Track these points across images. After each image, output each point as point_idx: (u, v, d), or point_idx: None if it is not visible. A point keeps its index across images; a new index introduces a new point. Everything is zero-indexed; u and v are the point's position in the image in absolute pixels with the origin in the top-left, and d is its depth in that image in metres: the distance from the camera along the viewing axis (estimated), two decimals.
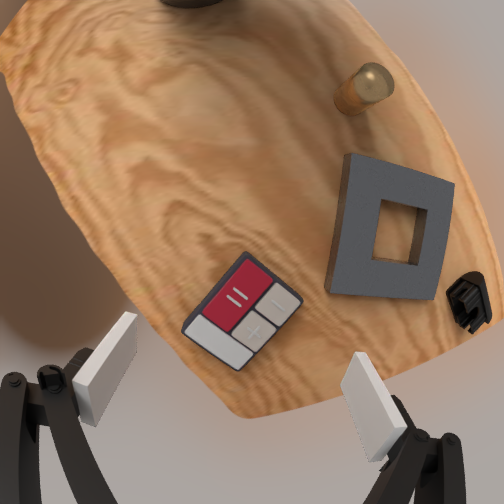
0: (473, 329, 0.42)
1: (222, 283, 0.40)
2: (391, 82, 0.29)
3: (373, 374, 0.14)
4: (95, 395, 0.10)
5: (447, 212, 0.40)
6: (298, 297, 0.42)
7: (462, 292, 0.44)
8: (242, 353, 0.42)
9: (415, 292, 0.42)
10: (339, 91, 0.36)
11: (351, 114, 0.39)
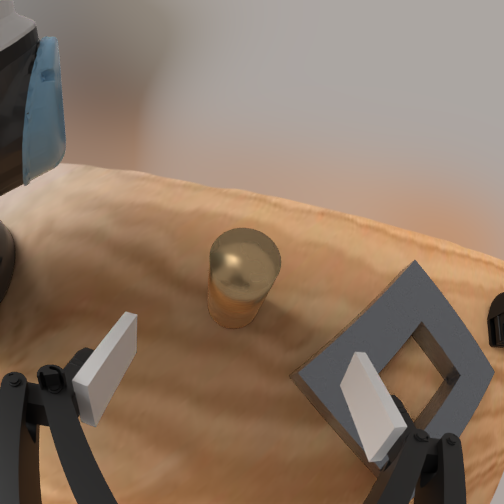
0: None
1: None
2: (266, 241, 0.22)
3: (373, 374, 0.14)
4: (95, 395, 0.10)
5: (436, 295, 0.30)
6: None
7: (502, 326, 0.30)
8: None
9: (478, 392, 0.24)
10: (212, 309, 0.26)
11: (251, 320, 0.28)
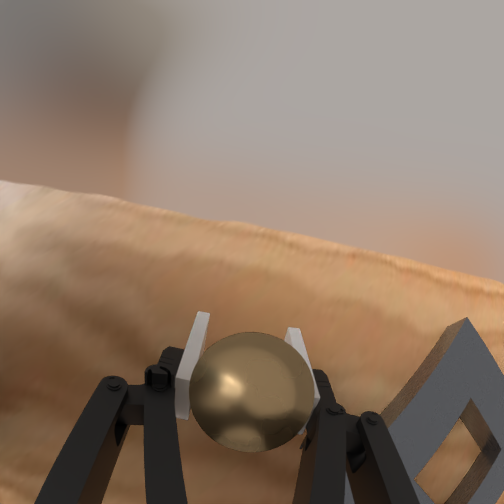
0: None
1: None
2: (289, 356, 0.11)
3: (300, 347, 0.16)
4: None
5: (487, 360, 0.20)
6: None
7: None
8: None
9: None
10: None
11: None
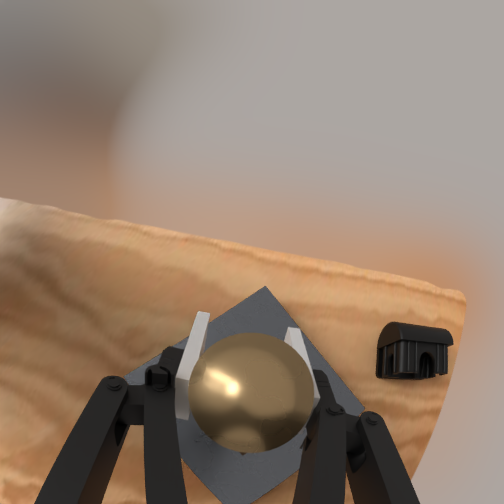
0: (443, 371, 0.30)
1: None
2: (289, 357, 0.11)
3: (300, 347, 0.16)
4: None
5: (285, 323, 0.34)
6: None
7: None
8: None
9: None
10: None
11: None
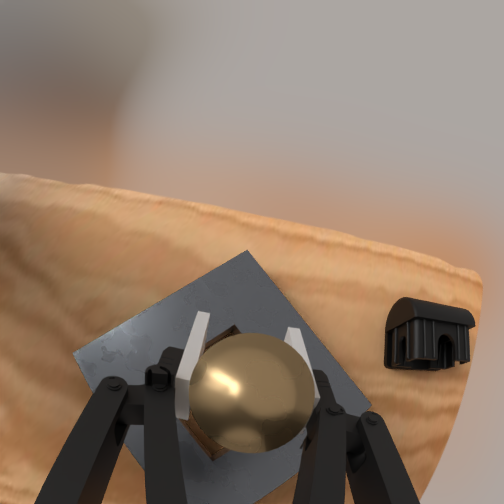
0: (464, 358, 0.24)
1: None
2: (290, 357, 0.11)
3: (300, 347, 0.16)
4: None
5: (270, 294, 0.28)
6: None
7: (405, 343, 0.28)
8: None
9: None
10: None
11: None
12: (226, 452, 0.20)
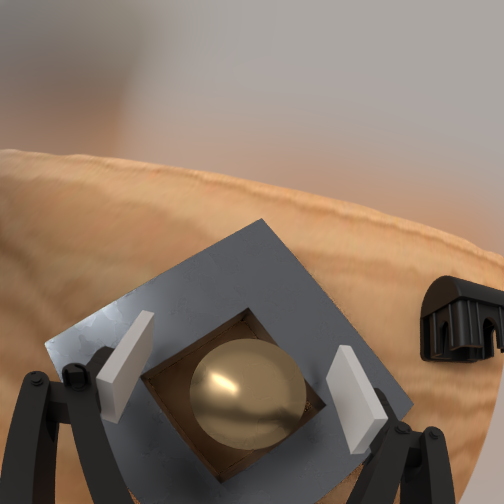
0: None
1: None
2: (283, 361, 0.12)
3: (356, 367, 0.15)
4: (118, 392, 0.11)
5: (292, 270, 0.23)
6: None
7: (444, 330, 0.23)
8: None
9: None
10: None
11: None
12: (238, 472, 0.15)
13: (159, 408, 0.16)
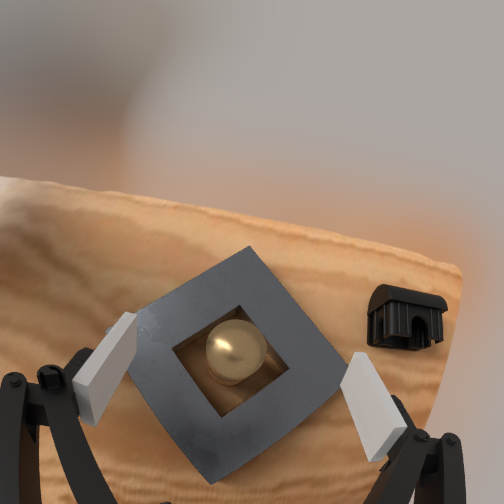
0: (438, 337, 0.30)
1: None
2: (254, 331, 0.24)
3: (373, 374, 0.14)
4: (95, 395, 0.10)
5: (268, 281, 0.35)
6: None
7: None
8: None
9: (319, 393, 0.29)
10: (210, 373, 0.29)
11: None
12: (233, 410, 0.27)
13: (184, 368, 0.28)
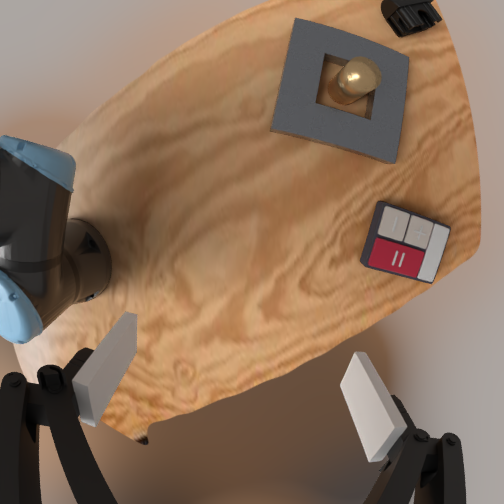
0: (438, 18, 0.30)
1: (391, 272, 0.46)
2: (364, 59, 0.30)
3: (373, 374, 0.14)
4: (95, 395, 0.10)
5: (326, 30, 0.35)
6: (382, 209, 0.43)
7: (401, 21, 0.35)
8: (436, 232, 0.43)
9: (401, 76, 0.37)
10: (344, 100, 0.39)
11: None
12: (371, 112, 0.39)
13: None
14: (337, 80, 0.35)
